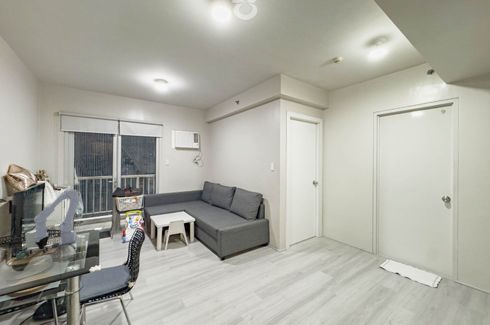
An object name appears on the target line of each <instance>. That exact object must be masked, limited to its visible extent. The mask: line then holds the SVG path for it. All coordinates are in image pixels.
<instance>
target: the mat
mask: <svg viewBox="0 0 490 325" xmlns="http://www.w3.org/2000/svg"><path fill="white" fill-rule="evenodd" d="M63 245H64V244H61V245H60V244H59V246H58V247H56V248H58V249H59V248H61V247H62V246H63ZM50 249H53V248H50ZM45 250H46V249H45ZM39 251H43V250H39ZM34 252H37V251H34ZM29 253H30V252H29Z"/></svg>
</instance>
